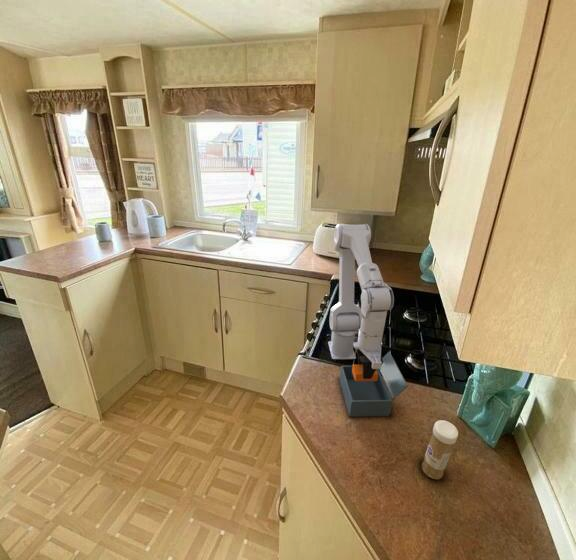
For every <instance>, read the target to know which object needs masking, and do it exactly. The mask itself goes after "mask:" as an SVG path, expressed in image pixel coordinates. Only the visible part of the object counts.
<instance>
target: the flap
mask: <svg viewBox="0 0 576 560" xmlns="http://www.w3.org/2000/svg"><path fill="white" fill-rule="evenodd" d="M381 358H382V360H383V364H382V365H381V369H379V371H380V374H381V376H382V378H383V380H384V383H385V385H386V387H387V389H388V392H389V394H390V396H391V398H392V400H395V399H396V398H397V397H398V396H399V395H400V394H402V393H403V392H404V391H405V390H406V389H407V388H408V387H409V384H408V383H407V381H406V379H405V378H404V376H403V374H402V372H401V370H400V368H399V366H398V365H397V362H396V360H395V359H394V357H393V356H392V354H391V352H390V351H388V352H387V353H386V354H384V356H383V357H381Z"/></svg>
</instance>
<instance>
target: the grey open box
mask: <svg viewBox="0 0 576 560" xmlns="http://www.w3.org/2000/svg"><path fill="white" fill-rule="evenodd" d="M352 367H353V365H341V366H340V373H339V383H340V386H341V390H342V394H343V398H344V401H345V406H346V409H347V413H348V416H349V417H350V418H351V417H387V416H388V417H389V416H390V414H391V409H392V405H393V402H394V399H393V398H392V396H391V393H390V391H389V389H388V387H387V385H386V382H385V380H384V378H383V376H382V373H381V371H380V369H376V370H377V372H378V378H377V381H355V379H354V376H353V373H352Z"/></svg>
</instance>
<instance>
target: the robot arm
mask: <svg viewBox="0 0 576 560" xmlns="http://www.w3.org/2000/svg"><path fill="white" fill-rule="evenodd" d="M371 238H372V230H371V227H370V225H369V224H368V223H363V224H341V223H339V224H336V226H335V228H334V230H333V250H334V252H337V253H338V256H339V257H338V258H339V262H338V263H339V267H338V269H339V271H338V273H339V274H338V276H339V277H338V279H339V280H338V302H337V303H336V304H334V305H333V306H332V307H331V308H330V313H329V317H328V319H329V320H328V322H329V323H328V324H329V329H330V330H331V336H330V337H331V338H330V341H327V345H328V348H329V352H330V355H331V356H330V357H331V359H332V360H356V359H357V363H358V364H362V367H363V378H364V379H371V378H372V376H373V374H374V372H375V371H376V369H379V370H380V369H381V365H382V364H383V360H382V358H383V357H382V341H383V336H384V331H385V325H386V321H387V320H386V319H387V315H388V311H391V310H392V309H393V308H394V303H395V296H394V291H393V289H392V288H391V286H389V285H388V284H387V283H385V282H384V279H383V276H382V273H381V271H380V268H379V266H378V265H377V263H373V260H372V256H371V255H372V254H371V251H370V246H369V245H370V241H371ZM356 263H357V266H358V268H356V269H357V270H356V269H355V267H356ZM355 270H356V273H355ZM355 275H356V276H357V279H358V283H359V286H360V289H361V294H360V303H361V304H360V305H361V306H359V305H357V304H355ZM356 335H358V337H357V341H355V339H356ZM354 349H355V350H356V353H357V356H356V353H355V351H354Z"/></svg>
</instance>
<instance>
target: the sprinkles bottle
mask: <svg viewBox="0 0 576 560" xmlns="http://www.w3.org/2000/svg"><path fill="white" fill-rule="evenodd" d="M458 437H459V431H458V429H457V427H456V426H455V425H454V424H453V423H451V422H449V421H447V420H443V419H440V420H437V421H435V423H434V425H433V428H432V434H431V437H430V440H429V443H428V445H427V447H426V448H427V449H426V451H425V453H424V458H423V460H422V462H421V469H422V472H423V473H424V475H426V476H427V477H428V478H430V479H432V480H440V479H442V478H443V476H444V472H445V469H446V467H447V465H448V463H449V459H450V456H451V454H452V451H453V448H454V445H455V443H456V442H457V440H458Z"/></svg>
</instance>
